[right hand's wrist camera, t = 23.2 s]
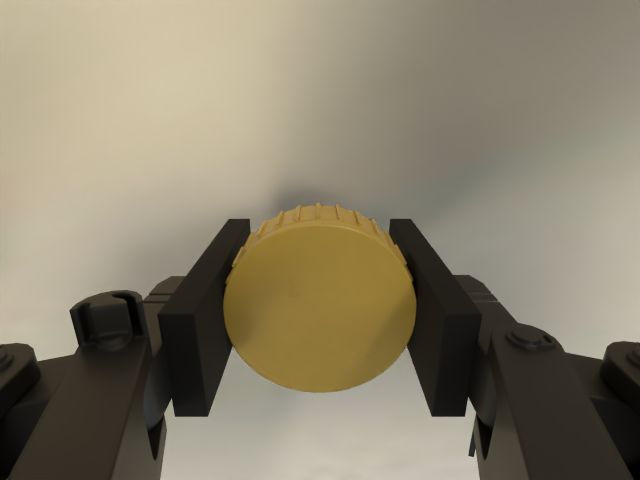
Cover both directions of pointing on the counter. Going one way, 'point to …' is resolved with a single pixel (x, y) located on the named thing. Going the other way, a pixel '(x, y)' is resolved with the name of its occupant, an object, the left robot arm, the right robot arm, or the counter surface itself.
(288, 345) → the lid
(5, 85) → the counter surface
